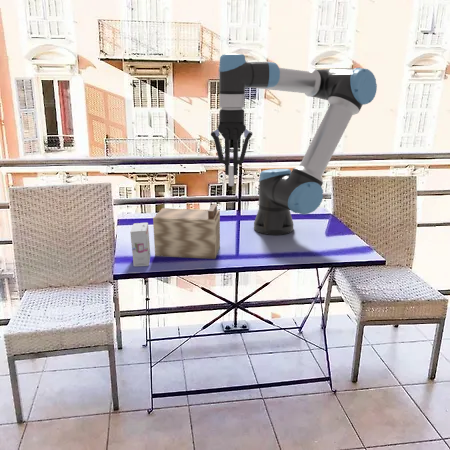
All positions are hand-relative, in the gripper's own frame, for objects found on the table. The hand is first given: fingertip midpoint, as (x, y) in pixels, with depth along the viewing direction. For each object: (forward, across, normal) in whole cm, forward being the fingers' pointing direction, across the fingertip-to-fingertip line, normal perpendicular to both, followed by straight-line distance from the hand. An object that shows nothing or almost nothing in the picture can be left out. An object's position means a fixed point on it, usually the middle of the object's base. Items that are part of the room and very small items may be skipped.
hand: (231, 185), depth 146 cm
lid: (+11, +15, 0) cm, 18 cm away
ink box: (+24, +28, +10) cm, 38 cm away
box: (+24, +14, 0) cm, 28 cm away
